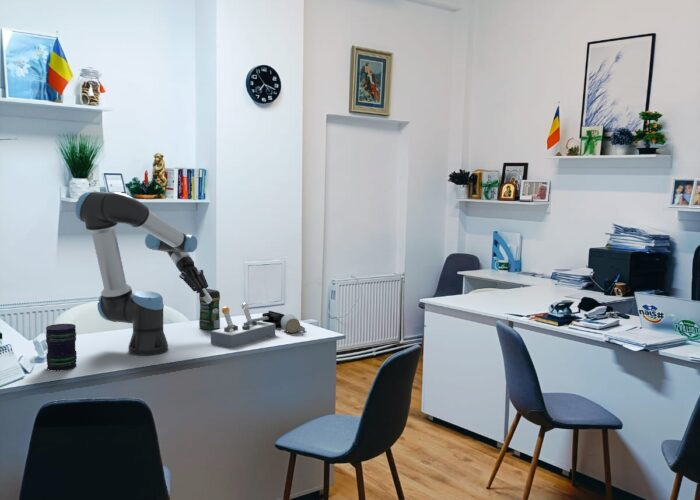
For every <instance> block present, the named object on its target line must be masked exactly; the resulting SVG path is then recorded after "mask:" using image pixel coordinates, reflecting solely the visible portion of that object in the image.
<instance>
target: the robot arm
mask: <svg viewBox="0 0 700 500" xmlns="http://www.w3.org/2000/svg"><path fill="white" fill-rule="evenodd" d="M74 207H75V209H74V211H75V215H76V218H77V219H78V220H79V221H81V222H83V223H84V224H85V229H86V230H87V231H88V232H90V233H91V236H92V240H93V241H92V242H93V245H94V249H95V250H94V251H95V254H96V257H97V263H98V264H97V265H98V266H99V267H98V268H99V271H100V275H101V276H100V277H101V280H102V285H103V290H101V292H100V293H101V294H100V296H99V298H98V302H97V311H98V313H99V315H100V317H102V318H103V319H104V320H105V321H109V322H113V323H123V324H124V323H126V324H132V335H131V336H130V340H129V343H128V347H127V348H128V353H129V354H131V355H135V356H152V355H159V354H162V353H163V354H164V353H166V352H167V351H168V350H169V344H168V340H167V337H166V334H165V331H164V299H163V298H164V297H163V296H162V295H161V294H160V293H158V292H154V291H146V290H141V291H140V290H137V291H134V292H133V290H132V286H131V285H129V284H127V281H126V275H125V271H124V266H123V261H122V256H121V251H120V246H119V243H118V237H117V234H116V228H117V226H118V224H125V225H129V226H131V227H133V228H139V229H140V230H142V231H144V232H147V233H148V234H147V235H146V236H145V238H144V244H145V246H146V248H148V249H150V250H152V251H161V252H166V253H167V254H168V256H169V257H170V259H171V261H172V262H173V263H174V265H175V266H176V267H175V268H177V269H178V272H180V274H179V278H180V279H181V280H183V281H184V283H185V284H186V285H187V286H188V287H189V288H190V289H191V290H192V291H193V292H195V293H196V294H200V295H201V297H203V298H204V300H205V301H206V303H207V304H209V303H210V302H211V301H212V300H213V299H212V298H211V296H210V295H209V292H208V291H207V289H208V288H209V284H208V282H207V279H206V277H205V275H204V270H203V269H200V270H199V269H198V267H196V265H195V261H194V260H193V259H192V257H191V256H190V254H189V253H194V252H195V251H196V250H197V249H198V239H197V236H195V235H194V234H193V235H192V234H185V233H184V232H183V231H181V230H179V229H177V228H176V227H175V226H173V225H172V224H170V223H168V222H167V221H166V220H164V219H162V218H161V217H159V216H157V215H156V214H155V213H153V212H151V211H150V208H149V207H148V205H145V204H144V203H143V202H141V201H139V200H138V199H136V198H134V197H133V196H130V195H127V194H126V193H123V192H119V191H113V192H112V191H96V190H94V191H88V192H87V191H86V192H84V193H82V194H81V195H80V196H79V197H78V199H77V201H76V203H75V206H74Z"/></svg>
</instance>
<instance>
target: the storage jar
mask: <svg viewBox="0 0 700 500" xmlns="http://www.w3.org/2000/svg"><path fill="white" fill-rule="evenodd" d="M76 328H77V327H76V324H72V323H57V324H50V325H47V326H46V327H45V329H46V331H45V339H46V340H45V341H46V347H47V348H46V351H47V352H46V365H47V366H46V369H47V370H48V369H49V370H48V371H50V370H56V371H55V372H61V371H60V370H65V371H70V370H73V369H75V368H77V360H78V359H77V354H78V353H77V351H76V341H77V332H76V331H77V330H76ZM69 369H70V370H69ZM57 370H59V371H57Z"/></svg>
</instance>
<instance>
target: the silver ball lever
mask: <svg viewBox="0 0 700 500" xmlns="http://www.w3.org/2000/svg"><path fill="white" fill-rule="evenodd" d="M240 307H241V309H242V310H243V313H244V316H245V319H246V322H245V323H249V325H252V324H254V323H255V322H254V320H252V319H253V318H252V316H251V313H250V309H249V303H247V302H243V303H242V304H241V306H240Z"/></svg>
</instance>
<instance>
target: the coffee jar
mask: <svg viewBox="0 0 700 500" xmlns="http://www.w3.org/2000/svg"><path fill="white" fill-rule="evenodd" d="M206 289H207V291H208V292H209V295H210V296H211V298H212V299H213V300H212V301H211V302H210V303H209V304H207V303H206V301H205V300H204V298H203V297H201V295H200V294H199V293H198V294H199V295H198V300H199V320H198V321H199V322H198V323H199V325H198V327H199V328H200V329H203V330H207V331H214V330H218V329H221V319H220V318H221V317H220V301H221V293H220V291H219V290H216V289H212V288H211V289H210V288H206Z"/></svg>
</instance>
